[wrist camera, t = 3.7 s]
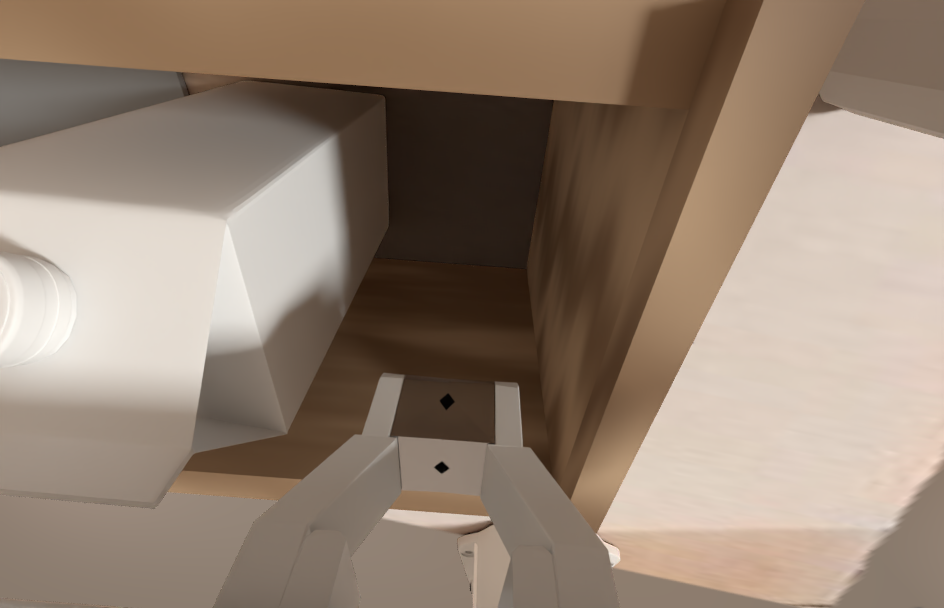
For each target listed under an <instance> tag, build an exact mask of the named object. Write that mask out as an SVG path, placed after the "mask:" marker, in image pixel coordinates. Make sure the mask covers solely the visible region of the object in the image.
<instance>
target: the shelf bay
mask: <svg viewBox="0 0 944 608" xmlns="http://www.w3.org/2000/svg"><path fill="white" fill-rule="evenodd" d="M864 2H865V0H0V59H13V60H27V61H40V62H53V63H67V64H80V65H93V66H107V67H120V68H134V69H147V70H160V71H174V72H187V73H201V74H214V75H227V76H241V77H254V78H268V79H281V80H294V81H308V82H321V83H335V84H348V85H361V86H375V87H388V88H401V89H415V90H428V91H442V92H455V93H468V94H482V95H495V96H509V97H522V98H535V99H549V100H554V102H553V109H552V115H551V121H550V127H549V133H548V139H547V146H546V152H545V158H544V164H543V170H542V176H541V183H540V189H539V195H538V201H537V207H536V213H535V220H534V226H533V232H532V238H531V244H530V251H529V257H528V263H527V269H518V268H504V267H491V266H478V265H464V264H451V263H438V262H424V261H411V260H398V259H384V258H373V259H372V261H371V263H370V265H369V267H368V270H367V272H366V274H365V276H364V278H363V280H362V282H361V284H360V286H359V288H358V290H357V292H356V294H355V296H354V298H353V300H352V302H351V304H350V306H349V308H348V310H347V312H346V314H345V316H344V318H343V320H342V322H341V324H340V326H339V328H338V330H337V332H336V334H335V336H334V339H333V341H332V343H331V345H330V347H329V349H328V351H327V353H326V355H325V357H324V359H323V361H322V363H321V365H320V367H319V369H318V371H317V373H316V375H315V377H314V379H313V381H312V383H311V385H310V387H309V389H308V391H307V393H306V395H305V397H304V399H303V401H302V403H301V405H300V408H299V410H298V412H297V414H296V416H295V418H294V420H293V422H292V424H291V426H290V428H289V430H288V432H287V434H285V435H281V436H276V437H271V438H266V439H261V440H256V441H252V442H247V443H242V444H237V445H232V446H227V447H222V448H218V449H213V450H208V451H203V452H198V453H195V454H193V455H192V457H191V458H190V459H189V461H188V462H187V464H186V465H185V467H184V468H183V470H182V471H181V473H180V474H179V476H178V477H177V479H176V480H175V482H174V483H173V484H172V486H171V487H170V489H169V490H168V492H174V493H187V494H200V495H201V494H202V495H214V496H227V497H241V498H253V499H267V500H279V499H281V498H282V497H283V496H284V495H285V494H286V493H288V492H289V491H290V490H291V489H292V488H293V487H295V486H296V485H297V484H298V483H299V482H300V481H301V480H303V479H304V478H305V477H306V476H307V475H308V474H310V473H311V472H312V471H313V470H314V469H315V468H316V467H318V466H319V465H320V464H321V463H322V462H323V461H325V460H326V459H327V458H328V457H329V456H330V455H332V454H333V453H334V452H335V451H336V450H337V449H338V448H340V447H341V446H342V445H343V444H344V443H345V442H347V441H348V440H349V439H350V438H351V437H352V436H353V435H355V434H356V435H362V433H363V429H364V426H365V423H366V420H367V417H368V414H369V410H370V407H371V404H372V401H373V398H374V394H375V391H376V388H377V385H378V382H379V379H380V377H381V375H382V374H383V373H392V374H402V375H416V376H426V377H436V378H446V379H450V378H452V379H467V380H483V381H494V382H495V381H497V382H512V383H517V384H518V386H519V395H520V409H521V424H522V438H523V447H529V448H531V449H532V451H533V452H534V453H535V455H536V456H537V457H538V459H539V460H540V461H541V462H542V464H543V465H544V466H545V468H546V469H547V470H548V472H549V473H550V474H551V476H552V477H553V478H554V480H555V481H556V482H557V483H558V485H559V486H560V487H561V489H562V490H563V491H564V493H565V494H566V495H567V497H568V498H569V499H570V501H571V502H572V503H573V504H574V506H575V507H576V508H577V510H578V511H579V512H580V514H581V515H582V516H583V518H584V519H585V520H586V522H587V523H588V524H589V525H590V527H591V528H592V529H593V531H594V532H595V533H597V531H598V529H599V527H600V525H601V523H602V521H603V519H604V518H605V516H606V514H607V512H608V510H609V508H610V506H611V504H612V502H613V500H614V498H615V496H616V494H617V492H618V490H619V488H620V486H621V484H622V482H623V480H624V478H625V476H626V474H627V472H628V470H629V468H630V466H631V464H632V462H633V460H634V458H635V456H636V454H637V452H638V450H639V448H640V446H641V444H642V442H643V440H644V438H645V436H646V434H647V432H648V430H649V428H650V426H651V424H652V422H653V420H654V418H655V416H656V415H657V413H658V411H659V409H660V407H661V405H662V403H663V401H664V399H665V397H666V395H667V393H668V391H669V389H670V387H671V385H672V383H673V381H674V379H675V377H676V375H677V373H678V371H679V369H680V367H681V365H682V363H683V361H684V359H685V357H686V355H687V353H688V351H689V349H690V347H691V345H692V343H693V341H694V339H695V337H696V335H697V333H698V331H699V329H700V327H701V325H702V323H703V321H704V319H705V317H706V315H707V313H708V311H709V310H710V308H711V306H712V304H713V302H714V300H715V298H716V296H717V294H718V292H719V290H720V288H721V286H722V284H723V282H724V280H725V278H726V276H727V274H728V272H729V270H730V268H731V266H732V264H733V262H734V260H735V258H736V256H737V254H738V252H739V250H740V248H741V246H742V244H743V242H744V240H745V238H746V236H747V234H748V232H749V230H750V228H751V226H752V224H753V222H754V220H755V218H756V216H757V214H758V212H759V210H760V208H761V207H762V205H763V203H764V201H765V199H766V197H767V195H768V193H769V191H770V189H771V187H772V185H773V183H774V181H775V179H776V177H777V175H778V173H779V171H780V169H781V167H782V165H783V163H784V161H785V159H786V157H787V155H788V153H789V151H790V149H791V147H792V145H793V143H794V141H795V139H796V137H797V135H798V133H799V131H800V129H801V127H802V125H803V123H804V121H805V119H806V117H807V115H808V113H809V111H810V109H811V107H812V105H813V103H814V102H815V100H816V98H817V96H818V94H819V92H820V90H821V88H822V86H823V84H824V82H825V80H826V78H827V76H828V74H829V72H830V70H831V68H832V66H833V64H834V62H835V60H836V58H837V56H838V54H839V52H840V50H841V48H842V46H843V44H844V42H845V40H846V38H847V36H848V34H849V32H850V30H851V28H852V26H853V24H854V22H855V20H856V18H857V16H858V14H859V12H860V10H861V8H862V6H863V4H864ZM389 509H399V510H412V511H426V512H439V513H452V514H465V515H478V516H489V514H488V512H487V511H486V509H485V507H484V505H483V503H482V501H481V499H480V496H474V495H464V494H455V493H445V492H428V491H407V490H401V494H400V495H399V497H398V498H397V499H396V500H395V502H394V503H393V504H392V505H391V507H390V508H389Z"/></svg>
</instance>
